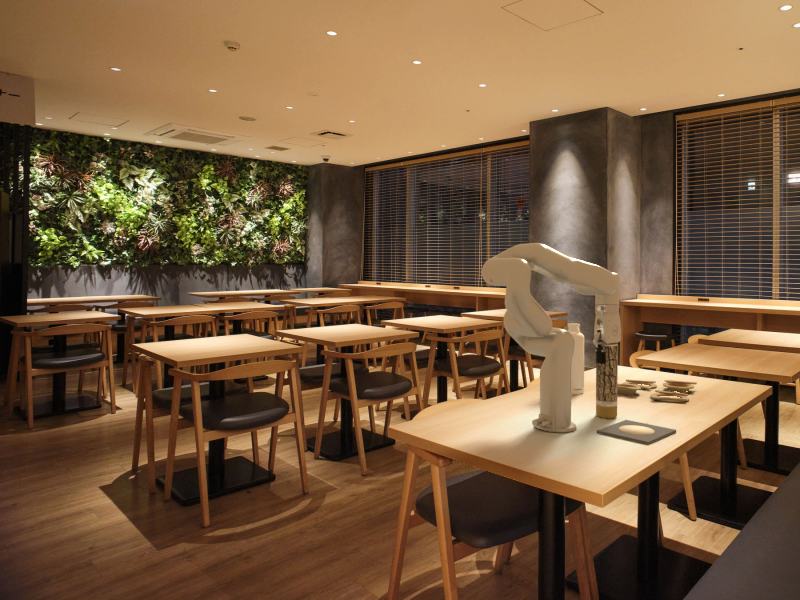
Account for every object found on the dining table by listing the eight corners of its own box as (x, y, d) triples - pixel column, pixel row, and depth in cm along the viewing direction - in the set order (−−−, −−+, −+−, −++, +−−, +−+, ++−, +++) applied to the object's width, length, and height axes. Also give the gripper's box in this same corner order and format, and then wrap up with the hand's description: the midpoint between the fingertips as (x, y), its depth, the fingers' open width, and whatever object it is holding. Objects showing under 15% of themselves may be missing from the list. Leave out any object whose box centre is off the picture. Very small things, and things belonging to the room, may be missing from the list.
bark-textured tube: (618, 419, 187) (619, 344, 186) (597, 418, 188) (597, 344, 187) (615, 414, 194) (615, 342, 192) (594, 413, 195) (594, 341, 194)
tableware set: (684, 406, 205) (684, 395, 205) (603, 396, 223) (603, 386, 223) (701, 389, 233) (701, 380, 233) (627, 382, 251) (627, 373, 251)
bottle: (581, 395, 224) (581, 325, 223) (560, 392, 229) (561, 324, 227) (586, 391, 231) (586, 323, 230) (566, 389, 236) (566, 322, 234)
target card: (648, 444, 160) (648, 441, 160) (596, 432, 172) (596, 430, 172) (676, 432, 172) (676, 429, 172) (626, 422, 184) (626, 419, 184)
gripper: (603, 311, 181) (603, 366, 182) (630, 308, 192) (630, 360, 193) (582, 310, 186) (582, 363, 187) (610, 307, 198) (609, 358, 199)
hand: (606, 361), depth 190 cm, fingers closed on bark-textured tube, 6 cm apart
